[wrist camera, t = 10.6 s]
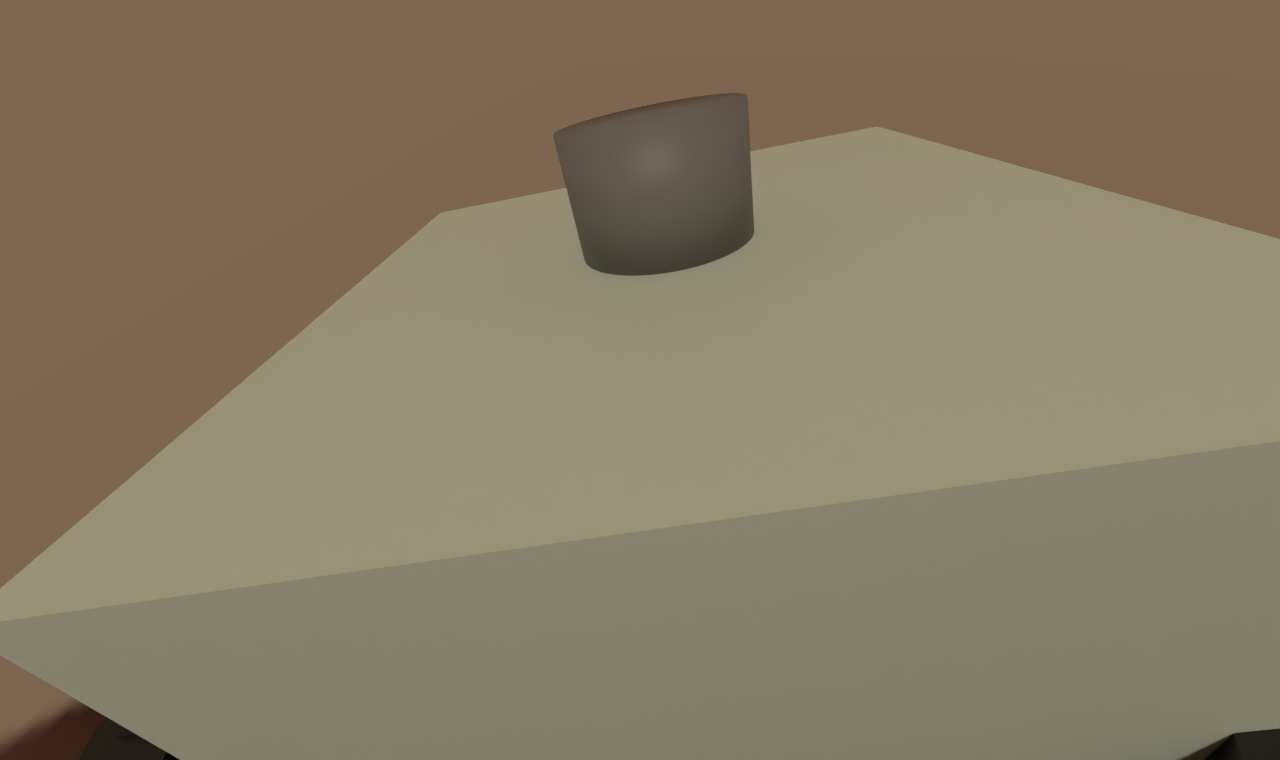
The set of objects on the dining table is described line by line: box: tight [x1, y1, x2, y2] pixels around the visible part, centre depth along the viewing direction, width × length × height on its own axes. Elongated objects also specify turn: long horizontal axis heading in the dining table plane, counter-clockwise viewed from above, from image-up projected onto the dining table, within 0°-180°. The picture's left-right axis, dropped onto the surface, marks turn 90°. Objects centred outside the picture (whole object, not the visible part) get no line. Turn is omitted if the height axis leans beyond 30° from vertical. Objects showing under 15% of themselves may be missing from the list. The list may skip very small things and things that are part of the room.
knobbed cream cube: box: [0, 93, 1280, 760], centre depth 10 cm, size 10×10×13 cm
